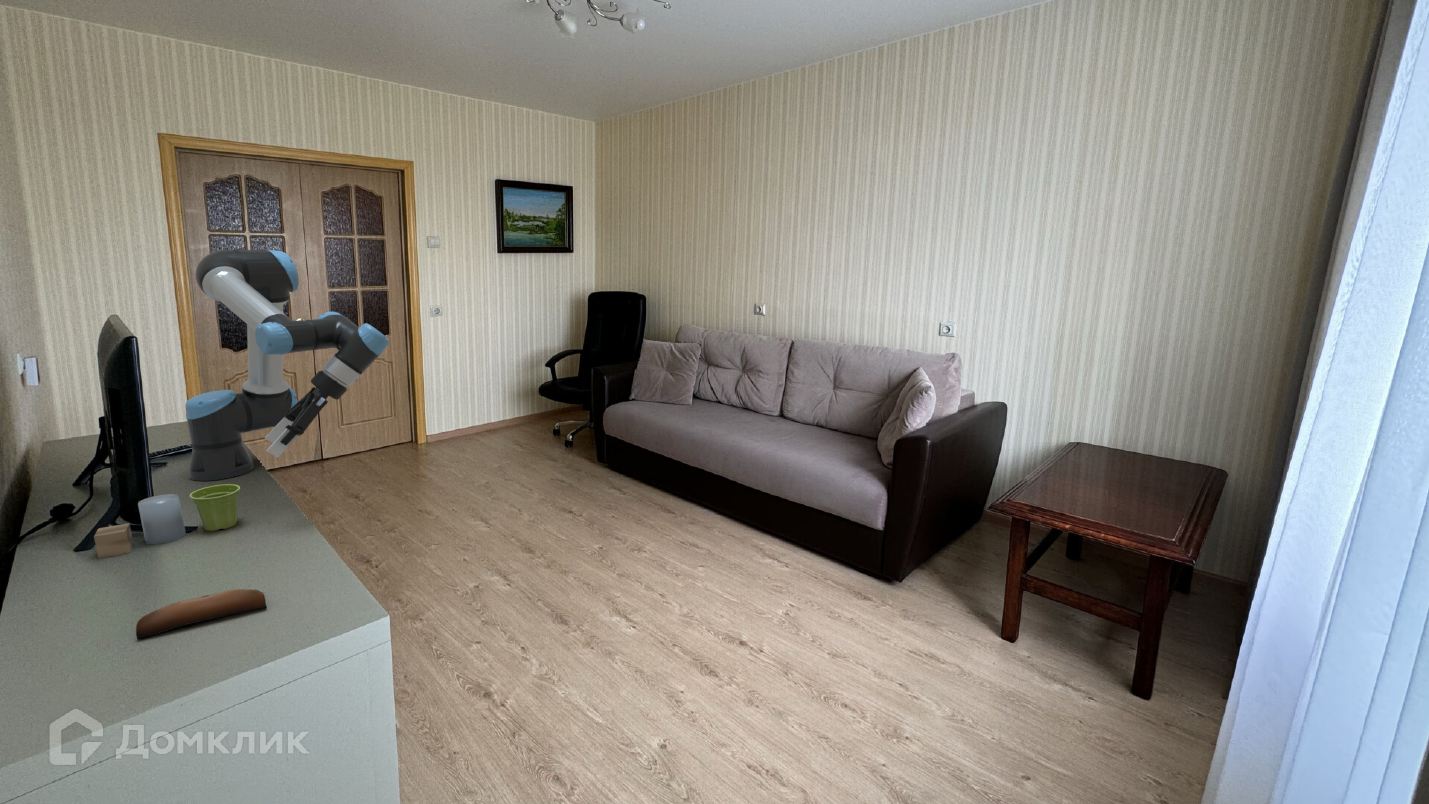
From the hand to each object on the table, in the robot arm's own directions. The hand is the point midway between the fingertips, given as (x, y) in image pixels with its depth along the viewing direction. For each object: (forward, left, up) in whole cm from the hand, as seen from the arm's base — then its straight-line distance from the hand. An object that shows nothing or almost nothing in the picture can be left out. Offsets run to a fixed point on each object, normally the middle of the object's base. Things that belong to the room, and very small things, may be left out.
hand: (270, 447), depth 156 cm
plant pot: (0, -12, -17) cm, 21 cm away
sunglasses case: (+46, -13, -18) cm, 51 cm away
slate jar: (+1, -22, -17) cm, 28 cm away
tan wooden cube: (+4, -30, -17) cm, 35 cm away
